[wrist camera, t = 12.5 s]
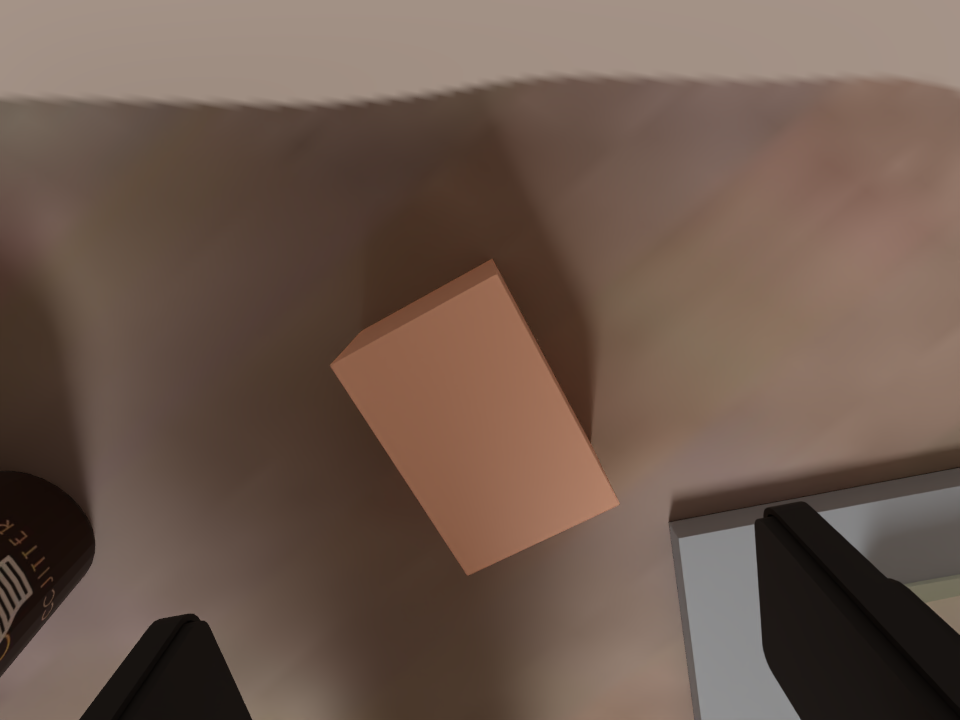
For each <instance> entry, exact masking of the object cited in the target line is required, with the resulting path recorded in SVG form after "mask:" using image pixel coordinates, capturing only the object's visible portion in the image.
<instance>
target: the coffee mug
mask: <svg viewBox="0 0 960 720" xmlns="http://www.w3.org/2000/svg"><path fill="white" fill-rule="evenodd" d="M94 554H95V540H94V535H93V531H92V528H91V526H90V523H89V521H88V519H87V517H86V515H85V514H84V512H83V511H82V510H81V508H80V507H79V505H78V504H77V503H76V502H75V501H74V500H73V499H72V498H71V497H70V496H69V495H67V494H66V493H65V492H63V491H62V490H61V489H59V488H58V487H57V486H55V485H53V484H51V483H49V482H47V481H46V480H44V479H41V478H38V477H35V476H33V475H30V474H25V473H20V472H14V471H0V677H1V676H2V675H3V673H4V672H5V671H6V670H7V668H8V667H9V666H10V665H11V664H12V662H13V661H14V660H15V659H16V658H17V656H18V655H19V654H20V653H21V652H22V650H23V649H24V648H25V647H26V646H27V644H28V643H29V642H30V641H31V639H32V638H33V637H34V636H35V635H36V633H37V632H38V631H39V630H40V629H41V627H42V626H43V625H44V624H45V623H46V621H47V620H48V619H49V618H50V617H51V615H52V614H53V613H54V612H55V610H56V609H57V608H58V607H59V606H60V604H61V603H62V602H63V601H64V600H65V598H66V597H67V596H68V595H69V594H70V592H71V591H72V590H73V589H74V588H75V586H76V585H77V584H78V583H79V581H80V580H81V579H82V578H83V577H84V575H85V574H86V573H87V571H88V569H89V568H90V566H91V564H92V561H93V557H94Z"/></svg>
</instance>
